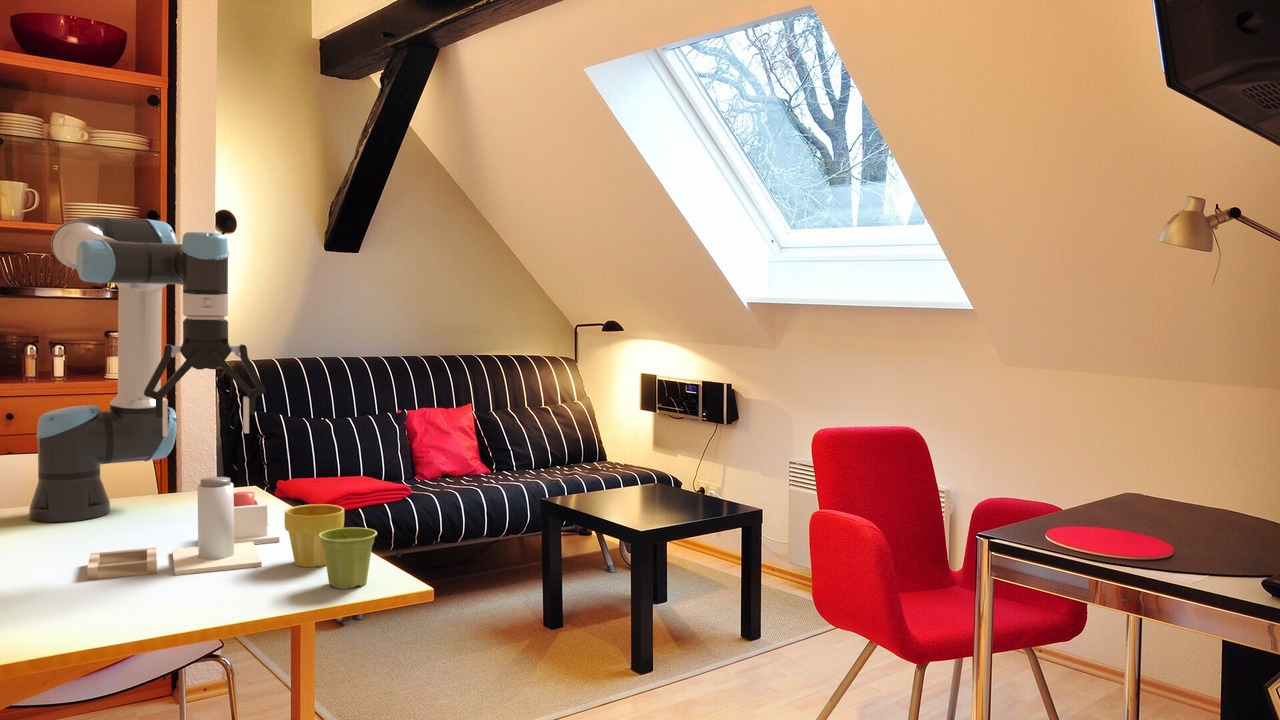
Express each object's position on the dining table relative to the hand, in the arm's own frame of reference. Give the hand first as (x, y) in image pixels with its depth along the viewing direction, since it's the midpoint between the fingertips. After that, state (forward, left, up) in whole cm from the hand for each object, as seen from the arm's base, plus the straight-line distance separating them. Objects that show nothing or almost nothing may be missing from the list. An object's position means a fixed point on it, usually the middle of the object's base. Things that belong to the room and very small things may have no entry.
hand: (206, 434), depth 179 cm
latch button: (-12, +7, -19) cm, 24 cm away
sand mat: (+3, +1, -23) cm, 23 cm away
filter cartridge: (+3, +1, -22) cm, 22 cm away
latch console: (-12, +7, -23) cm, 27 cm away
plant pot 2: (+28, +20, -23) cm, 41 cm away
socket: (+3, -14, -23) cm, 27 cm away
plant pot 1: (+12, +17, -23) cm, 31 cm away
